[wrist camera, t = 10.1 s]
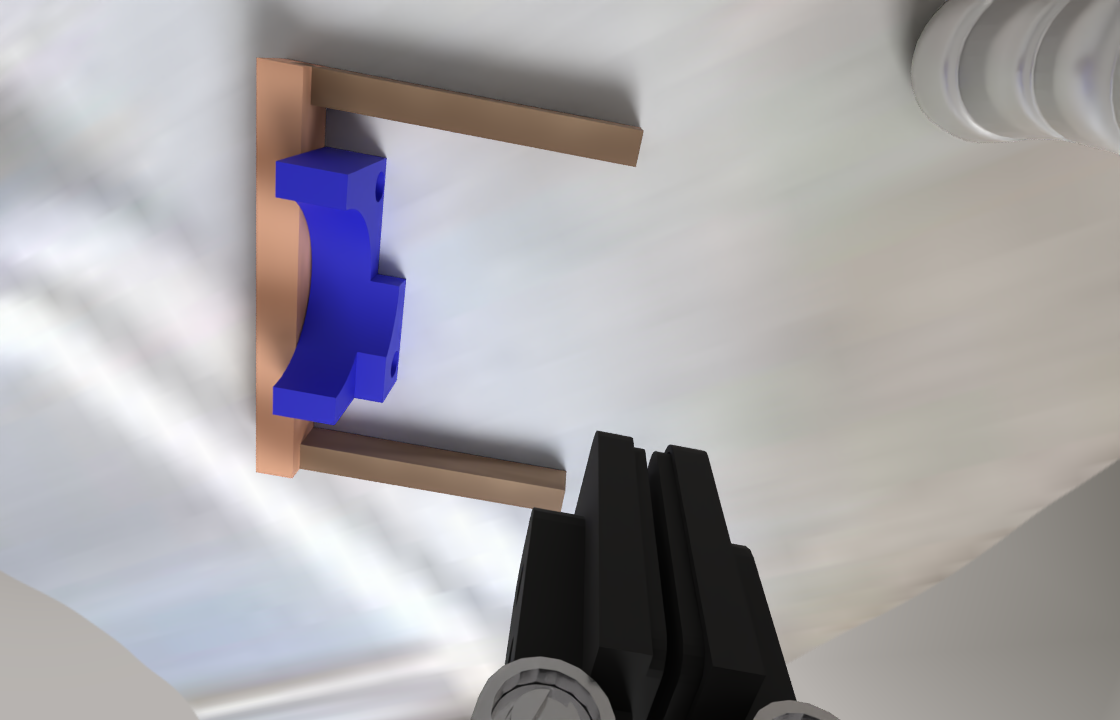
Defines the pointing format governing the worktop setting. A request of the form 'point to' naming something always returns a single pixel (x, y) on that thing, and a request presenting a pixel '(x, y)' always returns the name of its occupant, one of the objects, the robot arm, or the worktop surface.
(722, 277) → the worktop surface
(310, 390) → the cable clip
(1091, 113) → the plastic bottle
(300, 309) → the guide channel
